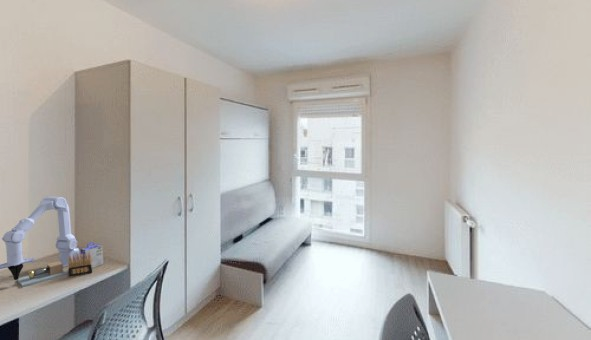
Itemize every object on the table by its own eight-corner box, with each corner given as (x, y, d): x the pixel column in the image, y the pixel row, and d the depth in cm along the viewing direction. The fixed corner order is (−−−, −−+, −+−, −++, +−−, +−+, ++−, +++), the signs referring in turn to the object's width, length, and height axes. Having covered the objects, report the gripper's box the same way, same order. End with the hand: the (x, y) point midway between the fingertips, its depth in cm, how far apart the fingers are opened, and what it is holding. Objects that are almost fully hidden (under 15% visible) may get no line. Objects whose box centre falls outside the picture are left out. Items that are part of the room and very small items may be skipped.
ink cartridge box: (98, 262, 172) (97, 240, 171) (103, 264, 170) (103, 241, 169) (80, 268, 163) (79, 245, 162) (86, 270, 161) (85, 246, 160)
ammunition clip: (68, 277, 152) (67, 256, 152) (68, 275, 154) (68, 255, 153) (91, 272, 158) (91, 252, 157) (92, 271, 160) (91, 251, 159)
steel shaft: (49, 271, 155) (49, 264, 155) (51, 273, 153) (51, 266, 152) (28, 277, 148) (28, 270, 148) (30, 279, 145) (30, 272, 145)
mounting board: (60, 269, 162) (59, 259, 161) (66, 274, 155) (66, 264, 154) (17, 280, 147) (16, 269, 147) (22, 287, 140) (22, 276, 140)
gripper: (-5, 260, 133) (-3, 286, 134) (35, 251, 145) (36, 276, 146) (-7, 256, 137) (-6, 282, 138) (32, 248, 149) (33, 272, 150)
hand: (16, 279), depth 142 cm, fingers closed
